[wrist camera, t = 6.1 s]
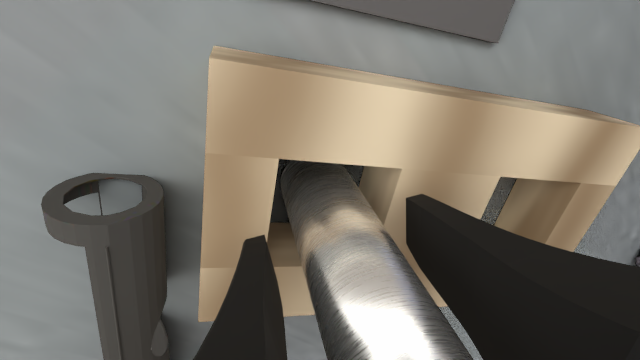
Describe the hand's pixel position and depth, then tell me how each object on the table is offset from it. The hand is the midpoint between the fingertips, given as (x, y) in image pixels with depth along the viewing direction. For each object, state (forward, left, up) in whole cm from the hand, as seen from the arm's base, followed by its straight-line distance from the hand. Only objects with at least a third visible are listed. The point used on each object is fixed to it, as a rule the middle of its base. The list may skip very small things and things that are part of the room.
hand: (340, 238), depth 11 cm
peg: (0, 0, -4) cm, 4 cm away
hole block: (-4, 0, -4) cm, 6 cm away
